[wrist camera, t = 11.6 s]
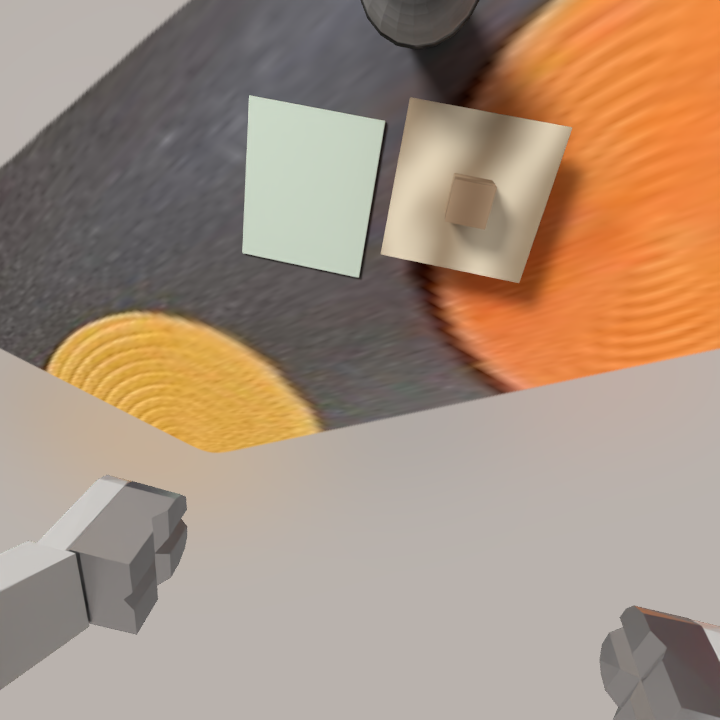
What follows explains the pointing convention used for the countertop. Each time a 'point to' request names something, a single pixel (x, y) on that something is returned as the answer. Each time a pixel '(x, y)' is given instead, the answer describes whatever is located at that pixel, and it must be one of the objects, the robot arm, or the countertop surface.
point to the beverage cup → (418, 20)
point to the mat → (309, 184)
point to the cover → (471, 188)
